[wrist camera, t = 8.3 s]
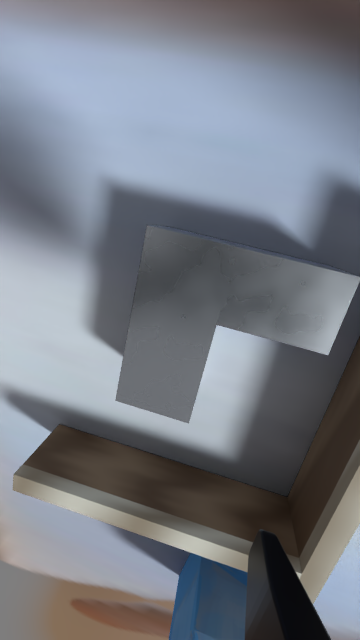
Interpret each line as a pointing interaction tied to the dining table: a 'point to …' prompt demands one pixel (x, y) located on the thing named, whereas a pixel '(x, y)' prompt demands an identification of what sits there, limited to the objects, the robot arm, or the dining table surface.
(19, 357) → the dining table surface
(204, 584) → the blue corked bottle
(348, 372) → the tan l-shaped wall
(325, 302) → the bracket
